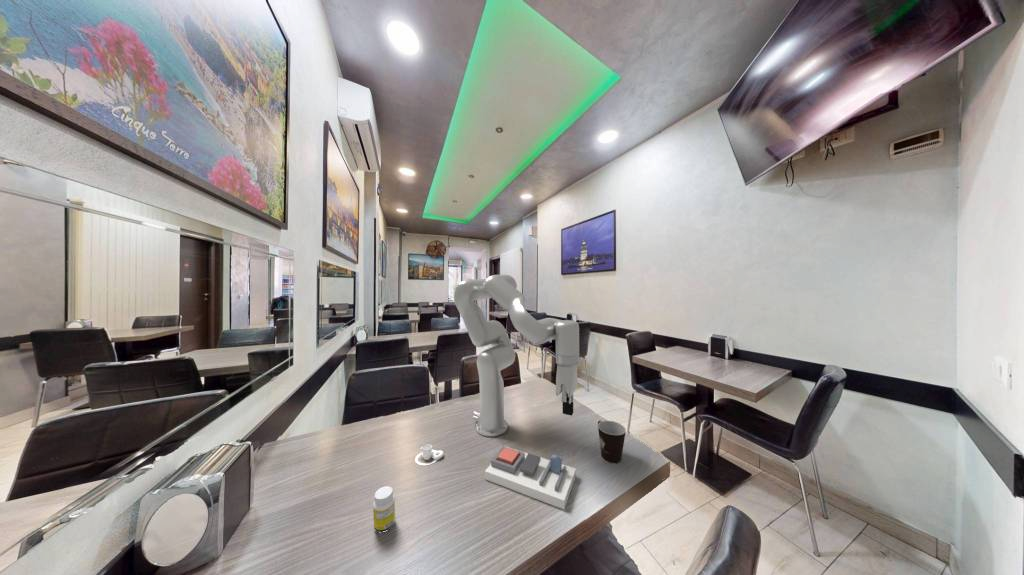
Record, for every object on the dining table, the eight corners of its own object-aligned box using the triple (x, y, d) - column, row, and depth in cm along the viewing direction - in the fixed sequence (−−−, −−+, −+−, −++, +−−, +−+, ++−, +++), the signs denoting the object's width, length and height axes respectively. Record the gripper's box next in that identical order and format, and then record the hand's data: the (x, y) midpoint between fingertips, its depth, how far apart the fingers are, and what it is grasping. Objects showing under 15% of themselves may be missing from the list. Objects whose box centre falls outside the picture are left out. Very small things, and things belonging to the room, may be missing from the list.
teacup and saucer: (446, 455, 94) (446, 443, 93) (430, 470, 86) (430, 458, 86) (426, 448, 97) (426, 437, 97) (409, 462, 90) (409, 450, 90)
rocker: (520, 472, 81) (520, 468, 81) (528, 456, 86) (528, 453, 86) (533, 476, 79) (533, 472, 79) (540, 460, 84) (540, 456, 84)
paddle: (550, 471, 82) (550, 455, 81) (551, 468, 83) (551, 452, 83) (561, 474, 80) (561, 459, 80) (562, 471, 81) (563, 456, 81)
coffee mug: (627, 467, 87) (628, 436, 86) (598, 463, 89) (599, 433, 88) (620, 444, 98) (621, 417, 98) (595, 441, 100) (595, 415, 100)
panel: (485, 479, 82) (484, 465, 82) (505, 453, 94) (505, 441, 94) (564, 509, 72) (564, 493, 71) (575, 476, 83) (576, 462, 83)
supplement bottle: (378, 517, 70) (377, 485, 69) (398, 515, 70) (397, 483, 69) (370, 535, 65) (369, 501, 64) (391, 533, 65) (390, 499, 65)
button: (497, 463, 85) (497, 456, 85) (505, 453, 89) (505, 447, 89) (512, 468, 82) (512, 461, 82) (519, 458, 87) (519, 451, 87)
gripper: (562, 351, 99) (563, 402, 99) (549, 363, 85) (549, 422, 86) (583, 353, 95) (584, 406, 96) (573, 367, 82) (573, 427, 83)
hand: (568, 413), depth 91 cm, fingers closed
